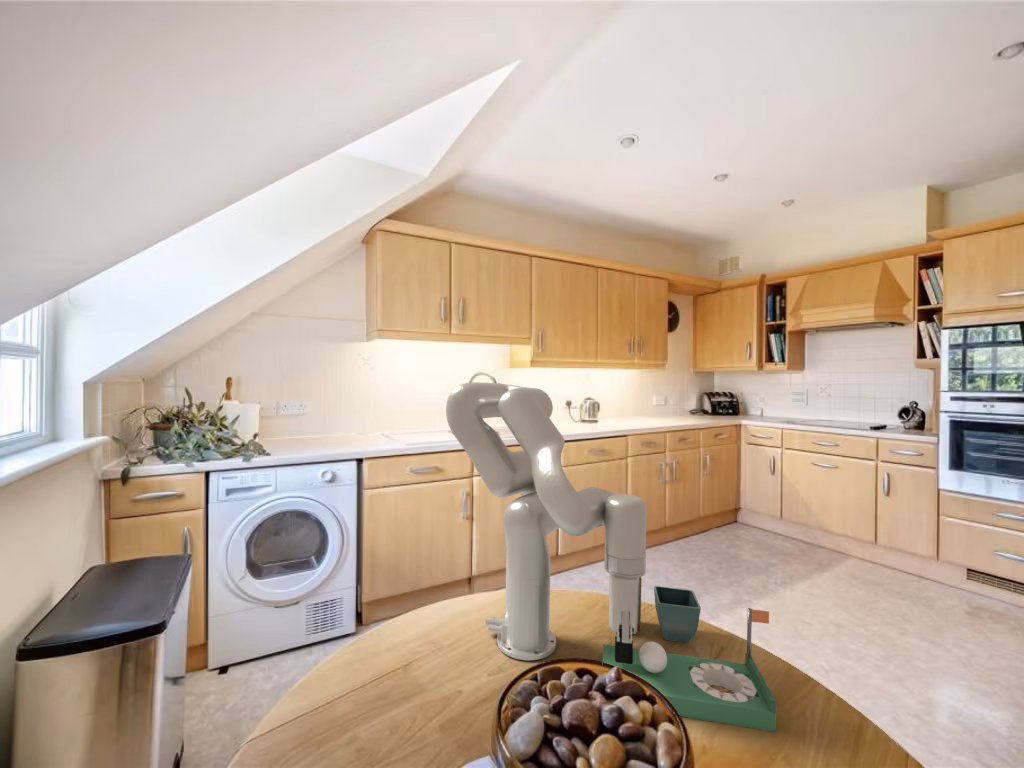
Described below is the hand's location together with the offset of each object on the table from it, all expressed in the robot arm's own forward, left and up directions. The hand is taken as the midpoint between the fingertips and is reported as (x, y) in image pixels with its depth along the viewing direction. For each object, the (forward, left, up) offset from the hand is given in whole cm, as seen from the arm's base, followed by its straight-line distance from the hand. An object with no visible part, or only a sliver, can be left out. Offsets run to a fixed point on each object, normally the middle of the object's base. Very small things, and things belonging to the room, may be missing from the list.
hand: (623, 660), depth 83 cm
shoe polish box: (+1, +20, -4) cm, 21 cm away
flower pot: (+12, +19, -4) cm, 23 cm away
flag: (+25, +6, -4) cm, 26 cm away
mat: (+10, 0, -4) cm, 11 cm away
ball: (+5, 0, +1) cm, 5 cm away
